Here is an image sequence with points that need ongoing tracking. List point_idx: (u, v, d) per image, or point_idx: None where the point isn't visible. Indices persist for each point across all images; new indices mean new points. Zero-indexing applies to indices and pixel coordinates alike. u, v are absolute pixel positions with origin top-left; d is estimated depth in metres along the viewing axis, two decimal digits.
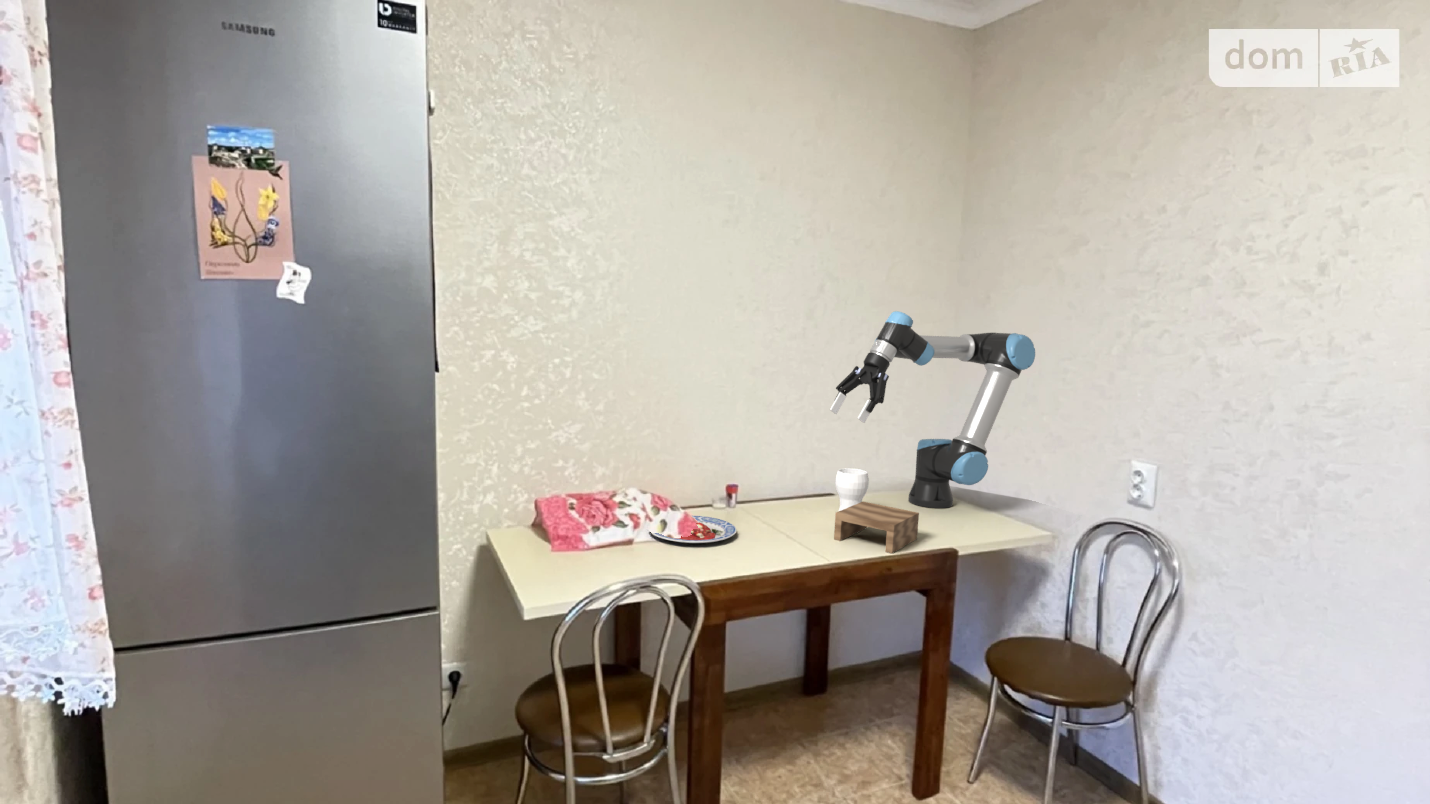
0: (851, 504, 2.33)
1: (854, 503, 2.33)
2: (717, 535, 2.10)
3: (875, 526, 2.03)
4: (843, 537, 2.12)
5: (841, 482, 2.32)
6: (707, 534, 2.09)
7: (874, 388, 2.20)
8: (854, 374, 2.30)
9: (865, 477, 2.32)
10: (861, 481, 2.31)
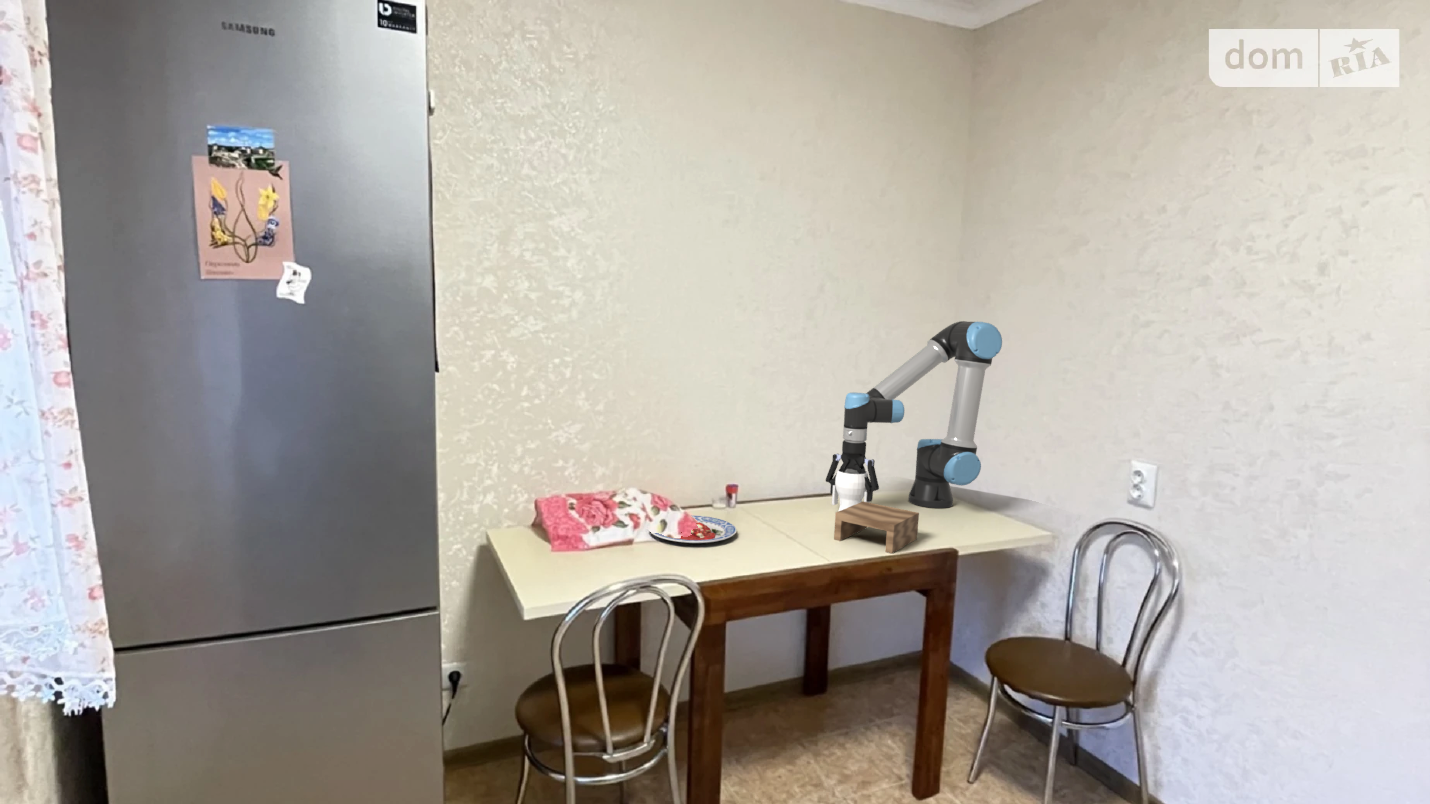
0: (851, 504, 2.33)
1: (854, 503, 2.33)
2: (717, 535, 2.10)
3: (875, 526, 2.03)
4: (843, 537, 2.12)
5: (841, 482, 2.32)
6: (707, 534, 2.09)
7: None
8: (836, 462, 2.38)
9: None
10: (861, 481, 2.31)
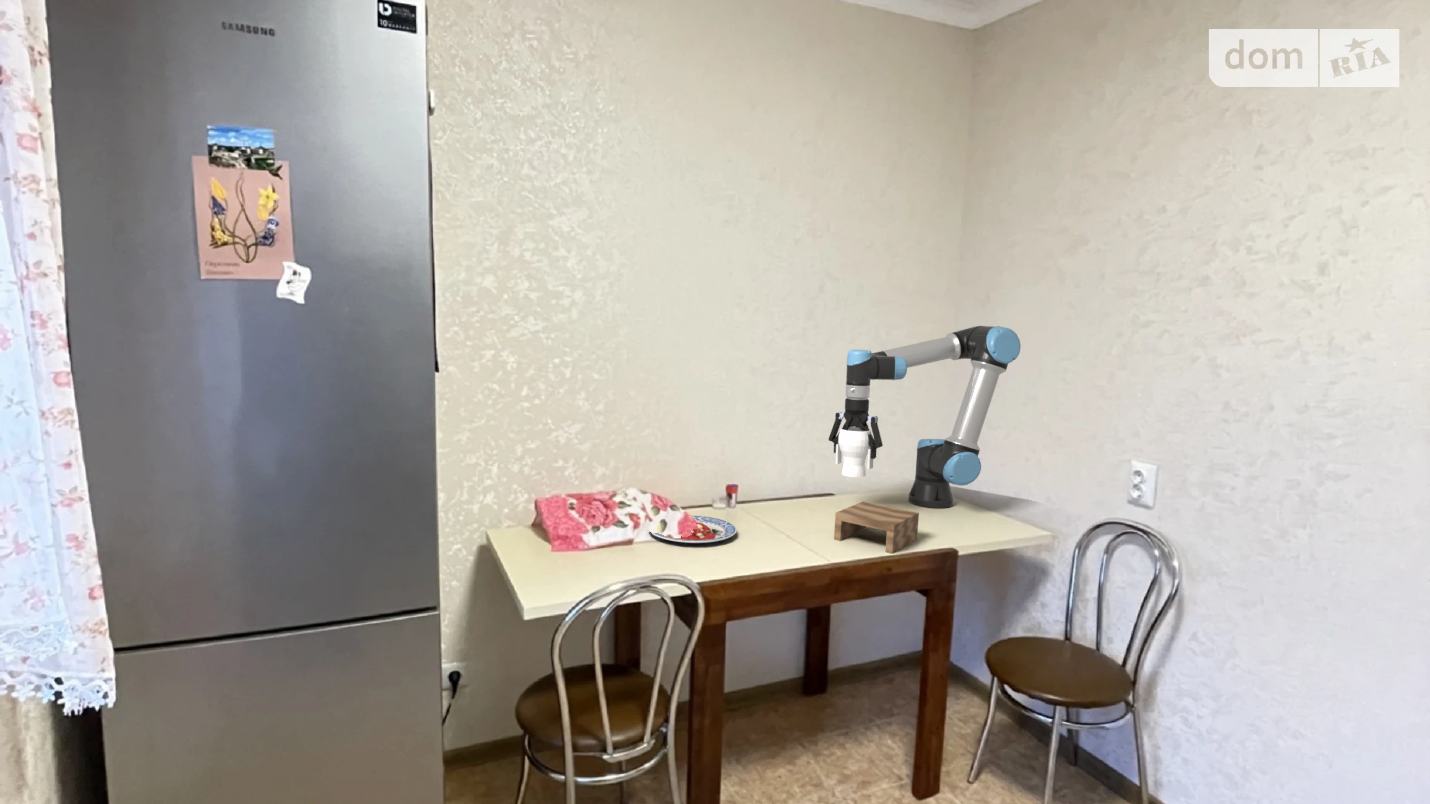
0: (855, 462, 2.31)
1: (858, 461, 2.31)
2: (717, 535, 2.10)
3: (875, 526, 2.03)
4: (843, 537, 2.12)
5: (844, 440, 2.30)
6: (707, 534, 2.09)
7: (868, 434, 2.30)
8: (839, 421, 2.36)
9: None
10: (864, 438, 2.29)
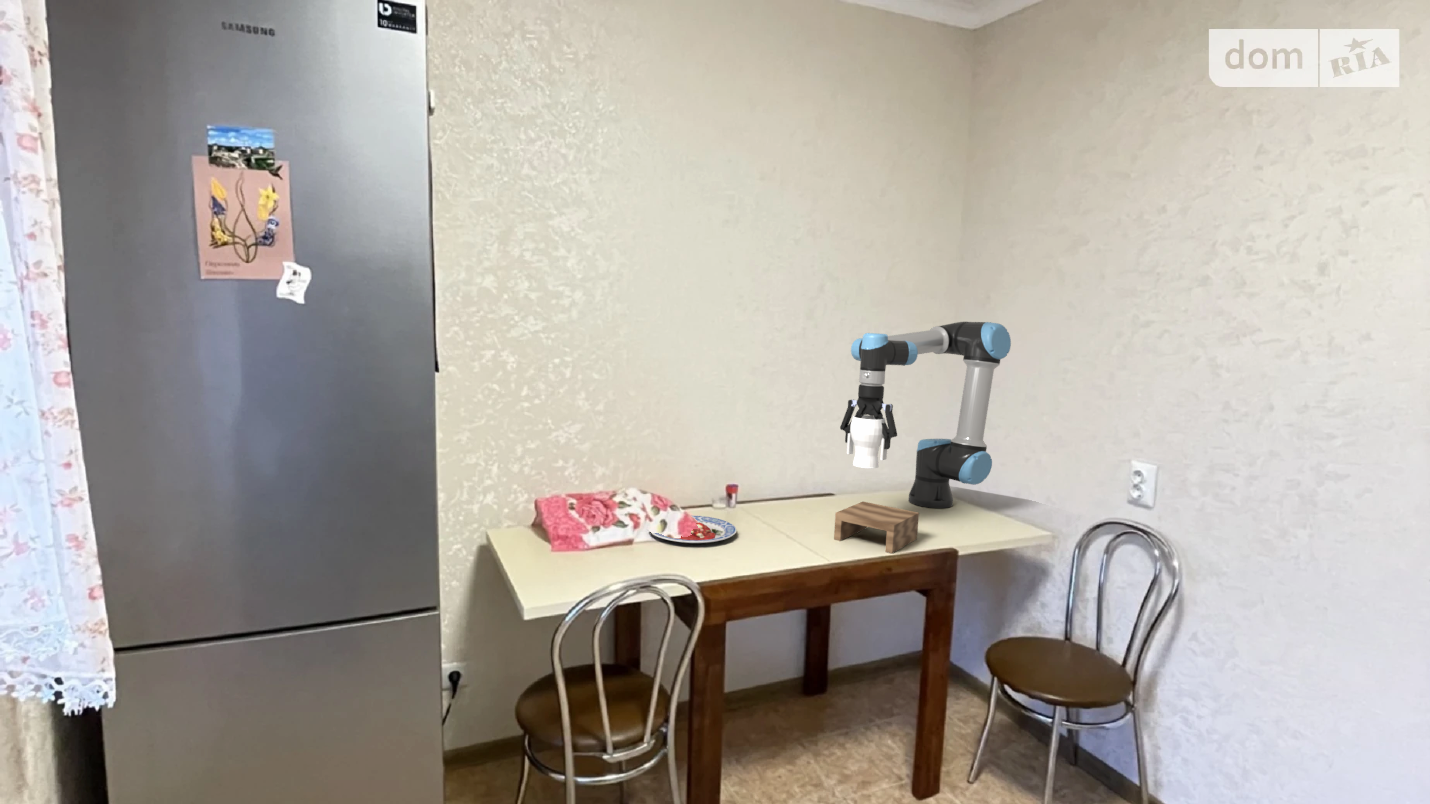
0: (867, 452, 2.18)
1: (870, 451, 2.18)
2: (717, 535, 2.10)
3: (875, 526, 2.03)
4: (843, 537, 2.12)
5: (856, 428, 2.17)
6: (707, 534, 2.09)
7: None
8: (851, 408, 2.23)
9: None
10: (878, 427, 2.15)
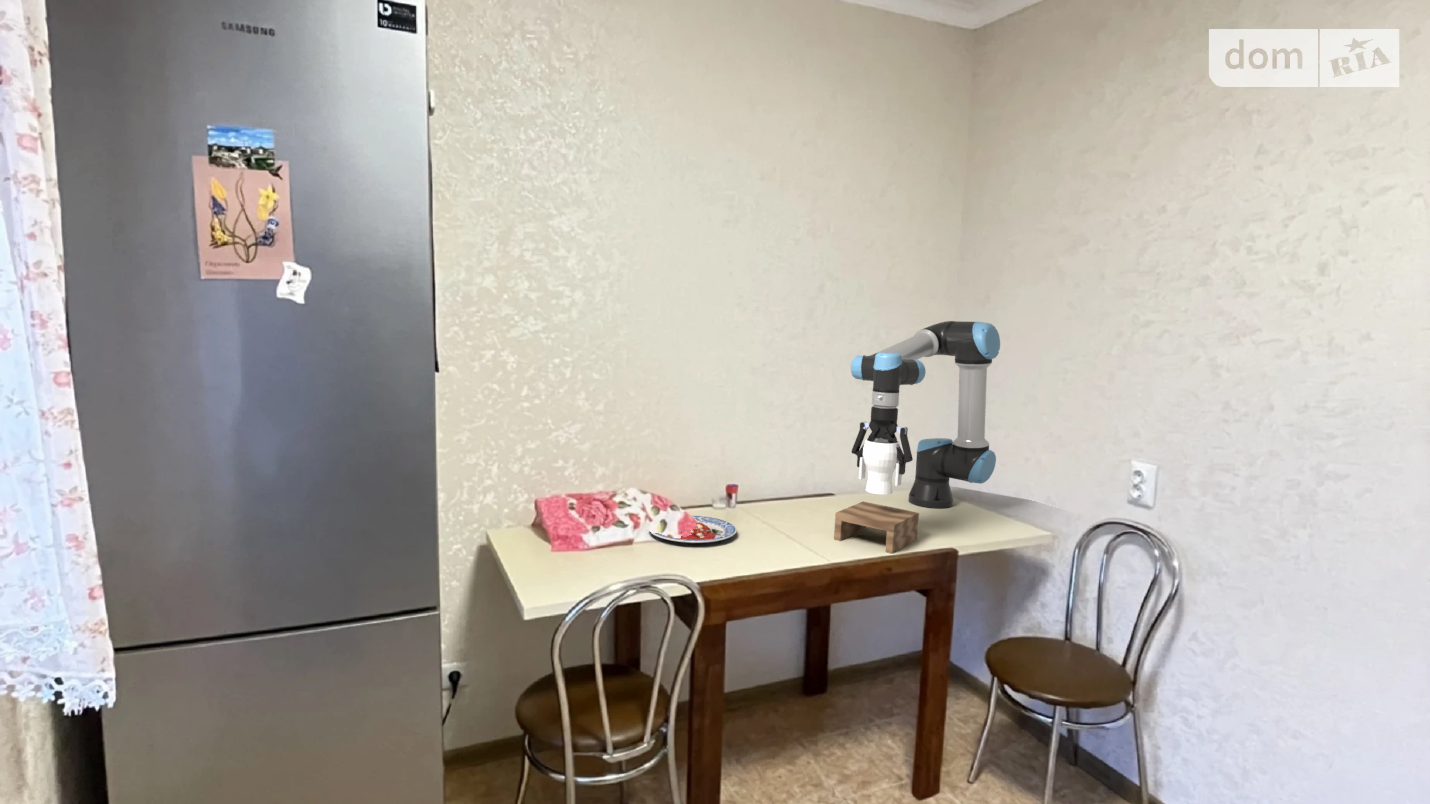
0: (881, 477, 2.07)
1: (884, 476, 2.07)
2: (717, 535, 2.10)
3: (875, 526, 2.03)
4: (843, 537, 2.12)
5: (870, 452, 2.07)
6: (707, 534, 2.09)
7: None
8: (863, 431, 2.12)
9: None
10: (892, 451, 2.05)
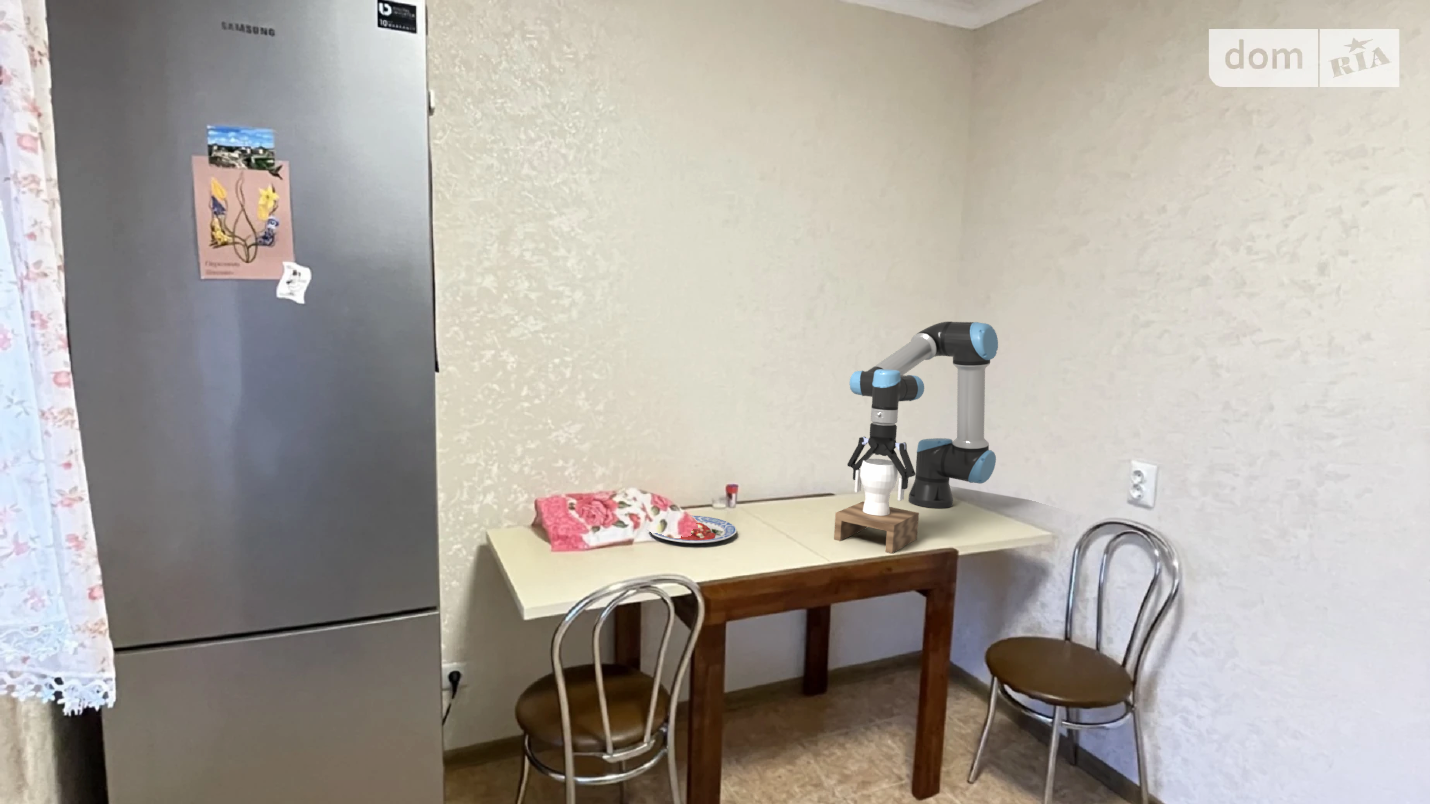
0: (878, 499, 2.08)
1: (881, 497, 2.08)
2: (717, 535, 2.10)
3: (875, 526, 2.03)
4: (843, 537, 2.12)
5: (867, 474, 2.08)
6: (707, 534, 2.09)
7: (898, 462, 2.07)
8: (862, 446, 2.13)
9: (894, 468, 2.07)
10: (890, 473, 2.06)
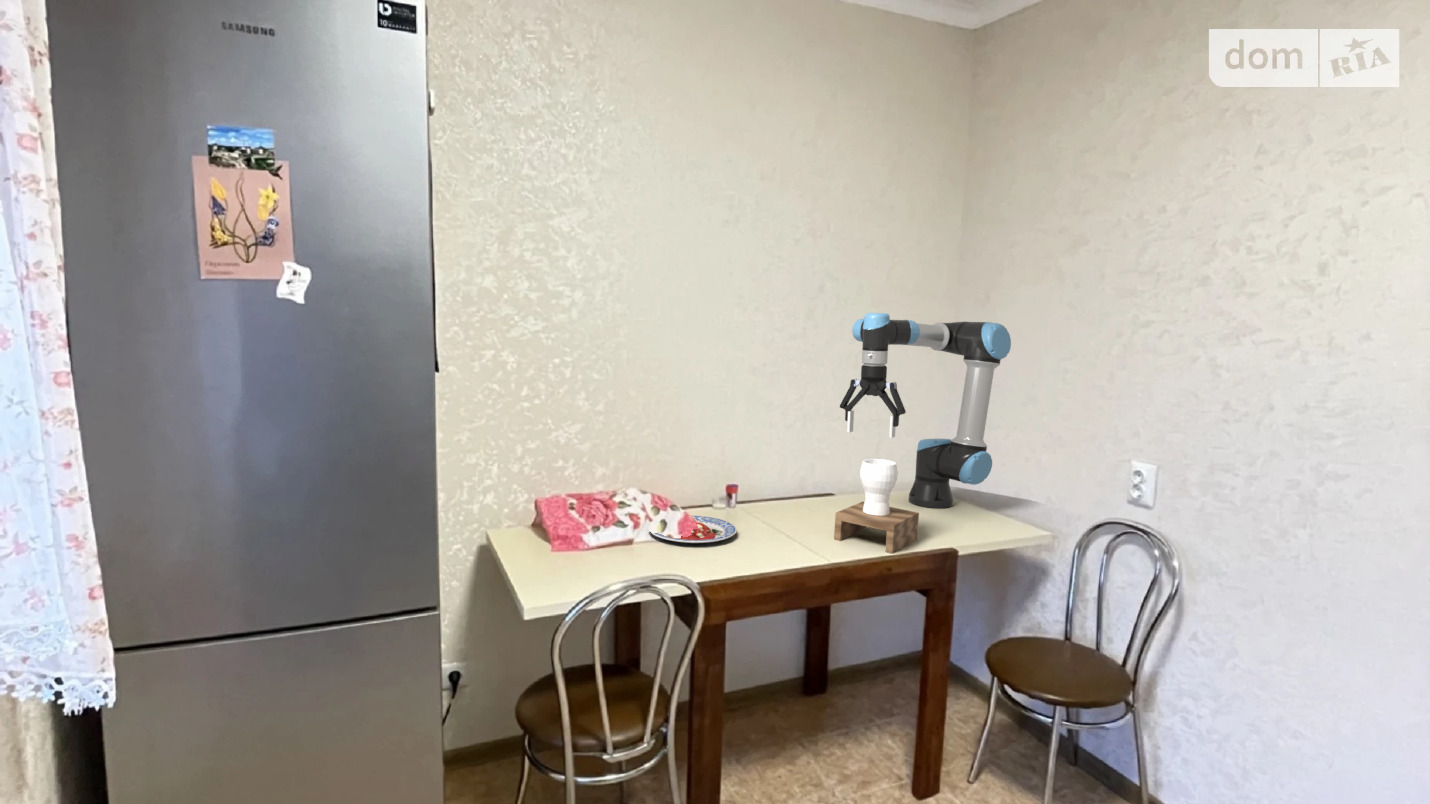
0: (878, 499, 2.09)
1: (881, 497, 2.08)
2: (717, 535, 2.10)
3: (875, 526, 2.03)
4: (843, 537, 2.12)
5: (867, 474, 2.08)
6: (707, 534, 2.09)
7: (889, 401, 2.16)
8: (853, 388, 2.22)
9: (894, 468, 2.07)
10: (889, 473, 2.06)
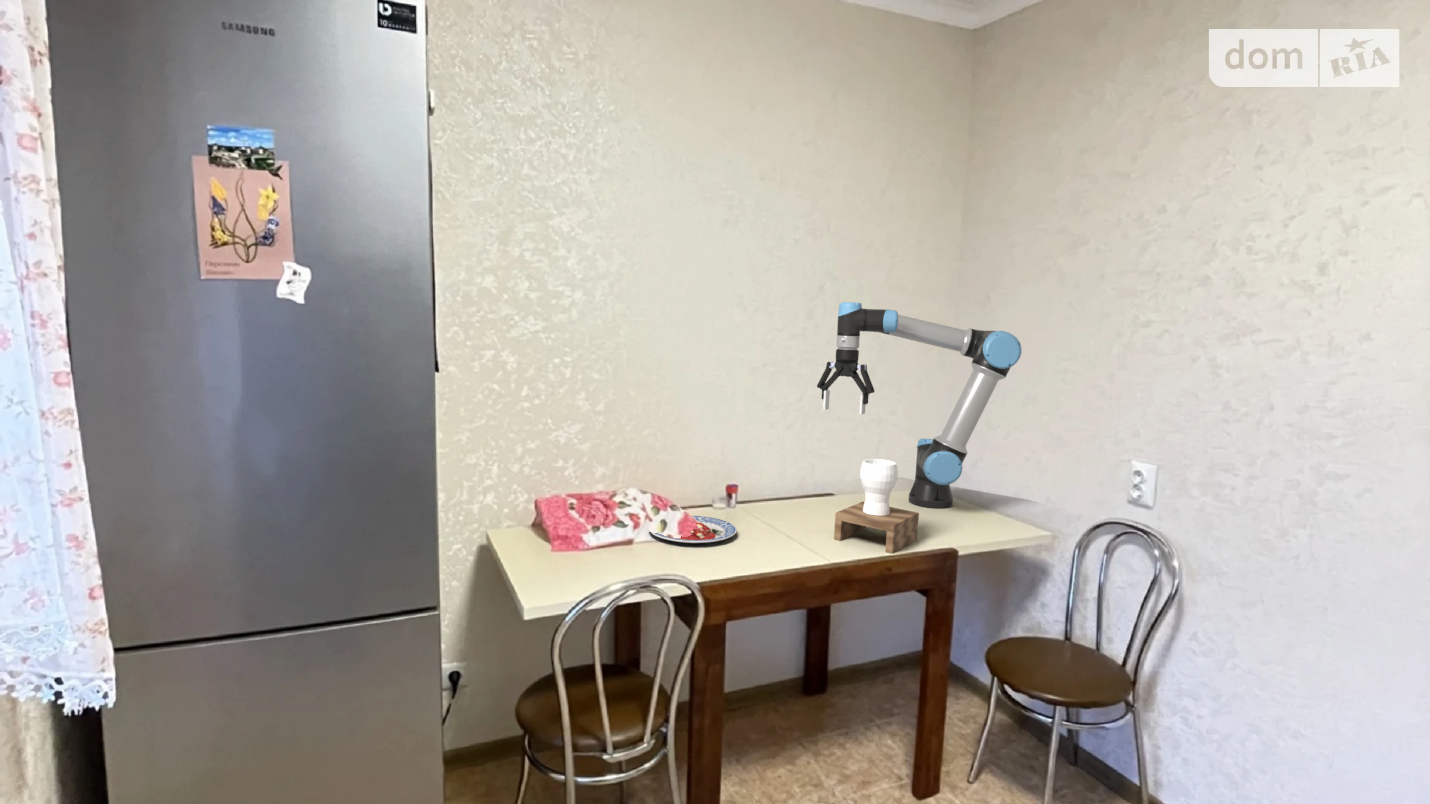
0: (878, 499, 2.08)
1: (881, 497, 2.08)
2: (717, 535, 2.10)
3: (875, 526, 2.03)
4: (843, 537, 2.12)
5: (867, 474, 2.08)
6: (707, 534, 2.09)
7: (860, 381, 2.40)
8: (829, 369, 2.47)
9: (894, 468, 2.07)
10: (889, 473, 2.06)
